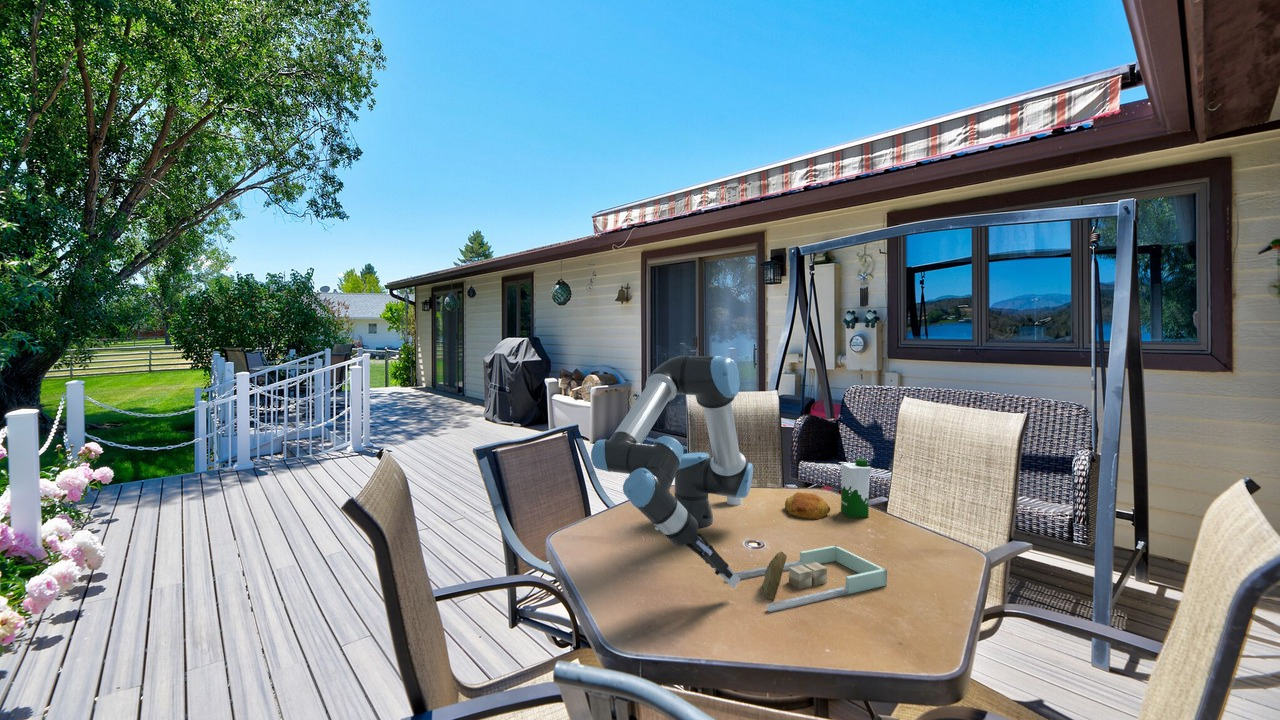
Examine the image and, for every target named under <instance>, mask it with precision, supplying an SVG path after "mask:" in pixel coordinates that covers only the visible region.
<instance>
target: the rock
mask: <svg viewBox="0 0 1280 720" xmlns="http://www.w3.org/2000/svg"><path fill="white" fill-rule="evenodd" d="M787 557H788V556H787V554H786V553H784V552H783V551H779V552H777V553H776V554H775V555H774V557H772V559H771V560H770V562H769V563H768V566H766V567H767V569H766V571H765V575H764V579H763V582H762V585H761V586H762V590H763V593H764V598H765V599H769V600H772V601H774V600H775V599H776V595H777V592H778V590H779V587H780V585H781V580H782V576H783V572H784V571H783V568H784V565H785V563H787V562H786V561H787Z"/></svg>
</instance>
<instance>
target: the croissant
mask: <svg viewBox="0 0 1280 720" xmlns="http://www.w3.org/2000/svg"><path fill="white" fill-rule="evenodd" d="M784 508H785V511H787V512H788V514H789V516H790V515H791V516H793V517H796V518H801V519H806V520H807V519H812V520H813V519H814V520H815V519H816V520H819V519H821V518H824V517H826V516H828V514H829V513H830V512H831V507H830V505H829V504H828V503H827V502H826V501H825V500H824V499H823V498H822V497H821V496H818V495H816V494H814V493H805V492H795V493H794V494H793V495H791V496H789V497H787V498H786V499H785V502H784Z"/></svg>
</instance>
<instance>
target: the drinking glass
mask: <svg viewBox="0 0 1280 720" xmlns="http://www.w3.org/2000/svg"><path fill="white" fill-rule="evenodd" d="M726 504H728V505H731V506H742V505H743V498H737V497H736V498H734V497H728V496H726Z"/></svg>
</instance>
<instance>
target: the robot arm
mask: <svg viewBox="0 0 1280 720" xmlns="http://www.w3.org/2000/svg"><path fill="white" fill-rule="evenodd" d="M740 386H741V383H740V372H739V368H738V366H737V363H736V362H735V360H733V358H731V357H726V356H720V355H715V356H704V355H702V356H701V355H678V356H675V357H673V358H669V359H668V360H665V362H662V363H661V364H660V365H658V367H656V368H655V369H654V370H653V371H652V372H651V373H650V374H649V376H648V377H647V379H646V381H645V388H644V389H643V391H642V392H641V393H640V394H639V396H638V397H637V400H635V402H634V403H633V405H632V406H631V408H630V409H629V411H628V412H627V413H626V415H625V416H624V418H623V420H622V421H621V423H620V424H619V426H618V427H616V430H615V431H614V432H613V434H612V435H611V436H610V438H609V439H607V438H604V439H598V440H596V441H595V442H594V444H593V445H592V448H591V453H590V460H591V463H592V465H593V467H594V468H595V469H597V470H599V471H605V472H609V473H617V474H618V473H620V474H626V475H627V474H628V477H627V478H625V480H624V481H623V482H624V483H623V485H622V492H623V495H625V497H626V498H627V499H628V501H629V502H630V503H631V504H632V506H633V507H635V508H636V509H637V510H638V511H640V513H642V514H643V515H644V516H645V517H646V518H647V519H648V520H649V521H650V522H651V523H652V524H653V525H654V526H655V527H654V530H655V531H660V532H662V534H664V536H665V537H666V538H667V539H668V540H669V541H670V542H671V543H672V544H673V545H674V546H678V547H683V546H686V547H687V548H689V549H690V550H691V551H692V552H694V553H695V554H697V555H698V556H699V557H700V558H701V559H702V560H703V561H704V562H705V564H707V565H709V566H710V567H711V568H712V569H714V571H715V572H714V574H715V575H717V576H720V577H721V578H722V579H723V580H724V581H725V583H727V584H728V585H729V586H730V587H732V589H734V588H735V587H736V586H737V585H738V583H739V582H740V581H741V579H740V578H739V577H738V576H737V575H736V574H735V573H736V572H734V571H733V570H732V568H730V566H729V564H728V563H727V562H726V561H725V560H724V559H723V557H722V556H721V555H720V554H719V553H718V552H717V551H716V550H715V548H714V547H713V545H711V544H710V543H709V542H708V541H707V540H705V539H706V538H705V537H704V536H703V535H702V534H701V532H698V530H699V528H705V527H708V526H711V525H712V524H713V522H714V513H713V511H712V507H711V504H710V501H709V494H710V495H716V496H724V497H727V496H728V497H734V498H736V497H737V498H742V499H744V498H746V497H748V496H749V493H750V492H751V487H752V483H753V482H752V481H753V477H754V476H753V475H754V465H753V463H751V462H747V460H746V459H747V458H746V457H745V455H744V454H743V453H742V452H740V448H739V441H738V435H737V429H736V422H735V418H734V416H735V415H734V412H733V411H734V410H733V405H732V403H733V402H734V400H735V397H736V396H737V395H738V394H739V391H740ZM679 395H687V396H688V395H689V396H695V399H696V403H697V404H698V405H699V406H700V407H701V408H702V409H703V412H704V419H705V422H706V428H707V432H708V437H709V442H710V447H711V452H712V457H711V456H710V454H709V453H707V452H703V451H702V452H689V453H684V448H683V446H682V444H681V443H680V442H679V440H677V439H676V438H674V437H671V436H668V435H663V436H659V437H658V438H656V440H655V441H654V442H653V444H647V443H644V440H645V439H646V437H647V436H648V435H649V433H650V432H651V430H652V428H653V426H654V425H655V424H656V421H657V420H658V418H659V417H660V415H661V413H662V412H663V410H664V408H665V407H666V405H667V404H668V402H671V401H673V400H674V399H675V398H676V396H679ZM710 457H711V458H710ZM673 482H674V494H672V493H671V492H670V489H671V487H672V485H673Z"/></svg>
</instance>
